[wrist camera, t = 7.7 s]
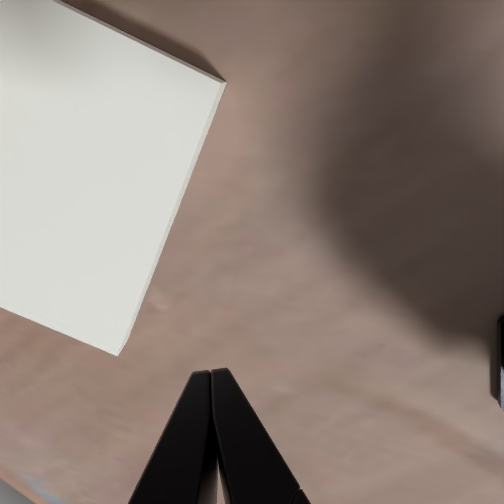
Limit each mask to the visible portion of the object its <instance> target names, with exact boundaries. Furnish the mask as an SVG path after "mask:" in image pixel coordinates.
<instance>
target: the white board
mask: <svg viewBox="0 0 504 504" xmlns="http://www.w3.org/2000/svg"><path fill="white" fill-rule="evenodd" d="M226 84H227V82H225V81H223V80H221V79H219V78H217V77H215V76H213V75H211V74H209V73H207V72H205V71H203V70H201V69H199V68H197V67H195V66H193V65H191V64H189V63H187V62H185V61H183V60H181V59H179V58H176V57H174V56H172V55H170V54H168V53H166V52H164V51H162V50H160V49H158V48H156V47H154V46H152V45H150V44H148V43H146V42H144V41H142V40H140V39H138V38H136V37H134V36H132V35H130V34H128V33H126V32H124V31H122V30H119V29H117V28H115V27H113V26H111V25H109V24H107V23H105V22H103V21H101V20H99V19H97V18H95V17H93V16H91V15H89V14H87V13H85V12H83V11H81V10H79V9H77V8H75V7H73V6H71V5H69V4H67V3H64V2H62V1H60V0H0V307H1V308H4V309H6V310H9V311H11V312H13V313H16V314H18V315H20V316H23V317H25V318H28V319H30V320H32V321H35V322H37V323H40V324H42V325H44V326H47V327H49V328H52V329H54V330H56V331H59V332H61V333H63V334H66V335H68V336H71V337H73V338H75V339H78V340H80V341H83V342H85V343H87V344H90V345H92V346H95V347H97V348H99V349H102V350H104V351H106V352H109V353H111V354H114V355H116V356H118V355H119V353H120V351H121V350H122V348H123V347H124V345H125V344H126V342H127V340H128V338H129V335H130V333H131V330H132V327H133V325H134V322H135V320H136V317H137V315H138V312H139V309H140V307H141V304H142V302H143V299H144V296H145V294H146V291H147V289H148V286H149V283H150V281H151V278H152V276H153V273H154V270H155V268H156V265H157V263H158V260H159V257H160V255H161V252H162V250H163V247H164V244H165V242H166V239H167V237H168V234H169V232H170V229H171V226H172V224H173V221H174V219H175V216H176V213H177V211H178V208H179V206H180V203H181V200H182V198H183V195H184V193H185V190H186V187H187V185H188V182H189V180H190V177H191V174H192V172H193V169H194V167H195V164H196V161H197V159H198V156H199V154H200V151H201V148H202V146H203V143H204V141H205V138H206V136H207V133H208V130H209V128H210V125H211V123H212V120H213V117H214V115H215V112H216V110H217V107H218V104H219V102H220V99H221V97H222V94H223V91H224V89H225V86H226Z"/></svg>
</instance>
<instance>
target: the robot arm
mask: <svg viewBox="0 0 504 504" xmlns="http://www.w3.org/2000/svg"><path fill="white" fill-rule="evenodd" d="M497 337H498V404H499V405H500V407H501V409H502V410H503V411H504V315H503V316H502V317H500V318H499V320H498V323H497ZM218 465H219V472H220V479H221V484H222V489H223V495H224V500H225V504H311V503H310V501H309V500H308V498H307V497H306V495H305V493H304V492H303V490H302V489H300V485H299V484H298V482H297V480H296V479H295V477H294V476H293V474H292V472H291V471H290V469H289V467H288V466H287V464H286V462H285V461H284V459H283V457H282V456H281V454H280V453H279V451H278V449H277V448H276V446H275V444H274V443H273V441H272V439H271V438H270V436H269V434H268V433H267V431H266V429H265V428H264V426H263V425H262V423H261V421H260V420H259V418H258V416H257V415H256V413H255V411H254V410H253V408H252V406H251V405H250V403H249V402H248V400H247V398H246V397H245V395H244V393H243V392H242V390H241V388H240V387H239V385H238V383H237V382H236V380H235V379H234V377H233V375H232V374H231V372H230V370H229V369H228V368H220V369H213V370H211V373H210V371H208V370H203V371H195V372H193V373H192V374H191V375H190V377H189V379H188V381H187V383H186V385H185V388H184V390H183V392H182V394H181V396H180V398H179V400H178V402H177V404H176V406H175V408H174V410H173V412H172V414H171V416H170V418H169V420H168V422H167V424H166V426H165V428H164V431H163V433H162V435H161V437H160V439H159V441H158V443H157V445H156V447H155V449H154V451H153V453H152V455H151V457H150V459H149V461H148V463H147V465H146V467H145V469H144V472H143V474H142V476H141V478H140V480H139V482H138V484H137V486H136V488H135V490H134V492H133V494H132V496H131V498H130V500H129V502H128V504H217V483H218Z"/></svg>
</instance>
